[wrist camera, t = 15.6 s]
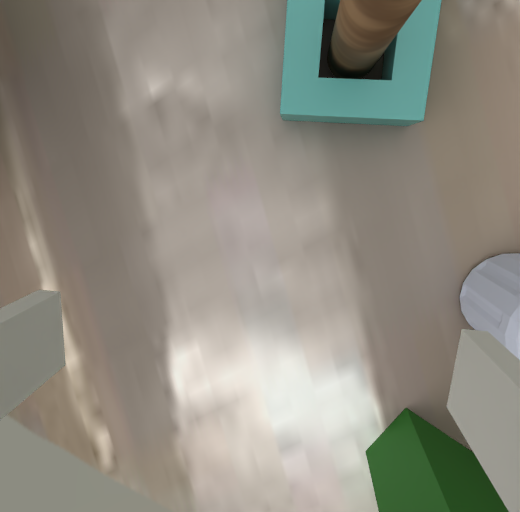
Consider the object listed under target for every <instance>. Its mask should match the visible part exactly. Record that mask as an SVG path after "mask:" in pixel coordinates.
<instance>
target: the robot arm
mask: <svg viewBox="0 0 520 512" xmlns="http://www.w3.org/2000/svg"><path fill="white" fill-rule="evenodd" d="M64 366H65V352H64V338H63V324H62V310H61V295H60V292H57V291H47V290H38V291H35V292H33V293H31V294H29V295H27V296H25V297H23V298H21V299H19V300H17V301H15V302H12V303H10V304H8V305H6V306H4V307H2V308H0V420H1V419H3V418H4V417H5V416H6V415H7V414H8V413H10V412H11V411H12V410H13V409H14V408H15V407H17V406H18V405H19V404H20V403H21V402H22V401H24V400H25V399H26V398H27V397H28V396H30V395H31V394H32V393H33V392H34V391H35V390H37V389H38V388H39V387H40V386H41V385H42V384H44V383H45V382H46V381H47V380H48V379H50V378H51V377H52V376H53V375H54V374H55V373H57V372H58V371H59V370H60V369H61V368H62V367H64ZM447 409H448V410H449V412H450V414H451V415H452V417H453V419H454V420H455V422H456V424H457V425H458V427H459V429H460V431H461V432H462V434H463V436H464V437H465V439H466V441H467V442H468V444H469V446H470V447H471V449H472V451H473V452H474V454H475V456H476V457H477V459H478V461H479V462H480V464H481V466H482V468H483V469H484V471H485V473H486V474H487V476H488V478H489V479H490V481H491V483H492V484H493V486H494V488H495V489H496V491H497V493H498V494H499V496H500V498H501V499H502V501H503V503H504V505H505V506H506V508H507V510H508V511H509V512H520V360H519V359H518V358H517V357H516V356H514V355H513V354H512V353H511V352H510V351H509V350H508V349H507V348H506V347H504V346H503V345H502V344H501V343H500V342H499V341H498V340H497V339H496V338H495V337H493V336H492V335H491V334H490V333H489V332H488V331H478V330H468V329H462V331H461V336H460V341H459V346H458V351H457V356H456V361H455V366H454V372H453V377H452V382H451V387H450V392H449V397H448V402H447Z"/></svg>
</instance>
